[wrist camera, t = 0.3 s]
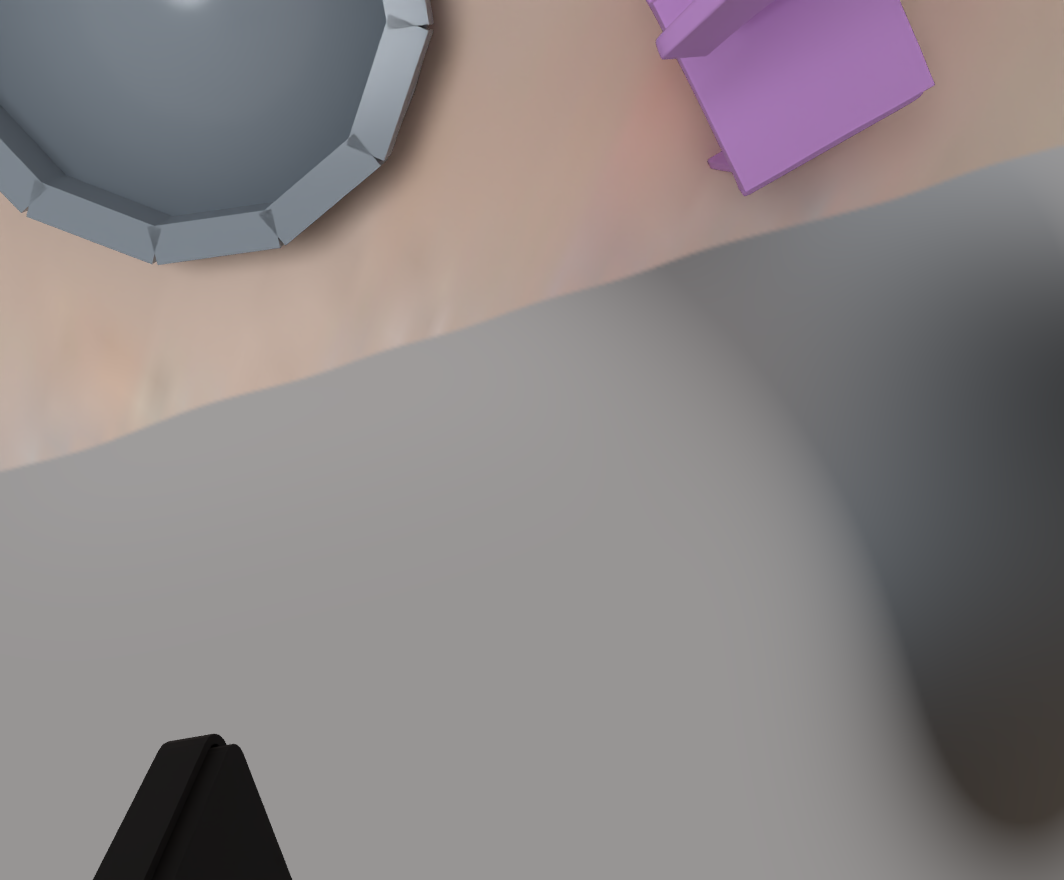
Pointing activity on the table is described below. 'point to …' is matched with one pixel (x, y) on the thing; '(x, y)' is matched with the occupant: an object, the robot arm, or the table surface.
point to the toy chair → (790, 74)
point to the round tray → (199, 115)
